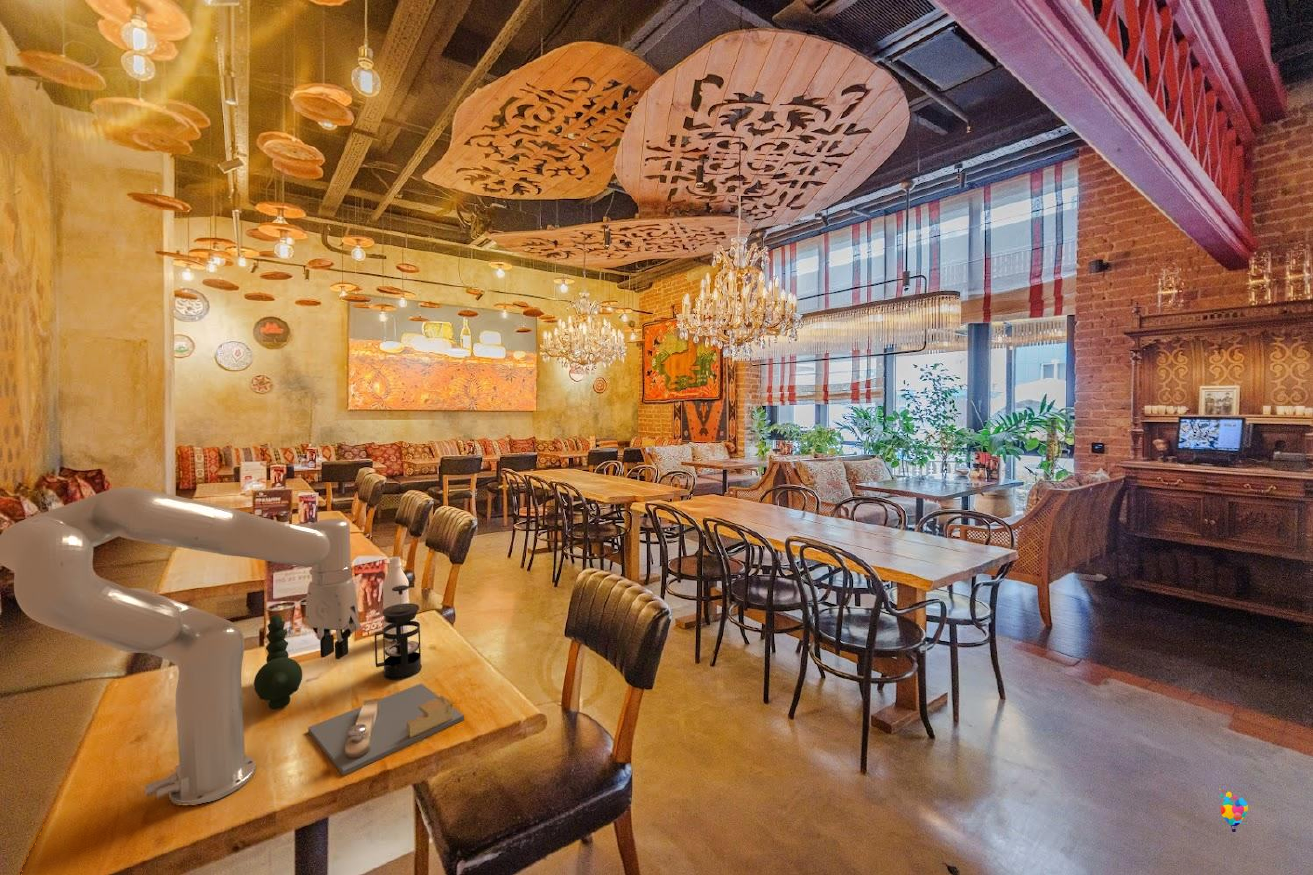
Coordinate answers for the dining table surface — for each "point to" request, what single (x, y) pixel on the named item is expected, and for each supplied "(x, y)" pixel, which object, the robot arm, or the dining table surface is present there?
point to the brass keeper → (430, 716)
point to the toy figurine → (277, 669)
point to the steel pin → (357, 732)
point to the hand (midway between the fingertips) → (334, 654)
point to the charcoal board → (378, 728)
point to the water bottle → (393, 597)
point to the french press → (400, 640)
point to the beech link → (368, 719)
